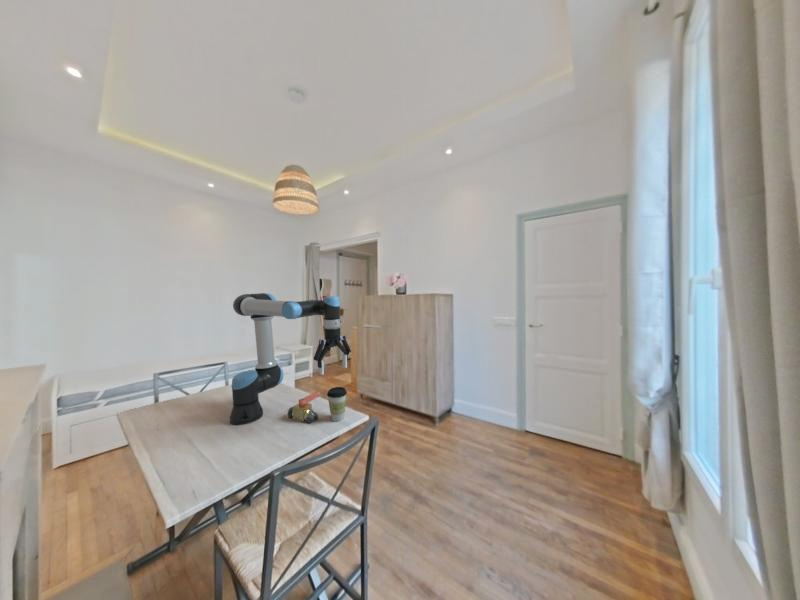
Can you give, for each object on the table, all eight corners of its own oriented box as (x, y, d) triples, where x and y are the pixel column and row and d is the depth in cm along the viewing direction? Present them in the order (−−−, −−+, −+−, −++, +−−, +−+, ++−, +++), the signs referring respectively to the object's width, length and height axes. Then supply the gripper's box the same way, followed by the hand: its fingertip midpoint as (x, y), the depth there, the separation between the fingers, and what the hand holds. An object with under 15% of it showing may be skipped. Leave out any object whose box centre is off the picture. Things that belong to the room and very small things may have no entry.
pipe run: (287, 419, 141) (286, 404, 141) (295, 413, 147) (295, 400, 146) (310, 425, 135) (309, 410, 134) (318, 419, 140) (318, 405, 139)
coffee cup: (343, 424, 134) (342, 394, 133) (324, 422, 136) (323, 393, 135) (350, 414, 144) (349, 387, 143) (333, 413, 145) (332, 385, 145)
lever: (302, 406, 138) (302, 401, 138) (297, 405, 139) (297, 400, 139) (321, 396, 151) (321, 391, 150) (316, 395, 152) (316, 390, 152)
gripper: (313, 332, 121) (315, 379, 122) (357, 325, 139) (358, 365, 141) (304, 330, 126) (306, 375, 127) (348, 323, 144) (349, 363, 146)
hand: (333, 370), depth 134 cm, fingers open, 13 cm apart
